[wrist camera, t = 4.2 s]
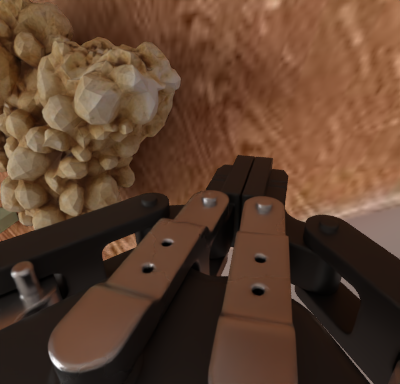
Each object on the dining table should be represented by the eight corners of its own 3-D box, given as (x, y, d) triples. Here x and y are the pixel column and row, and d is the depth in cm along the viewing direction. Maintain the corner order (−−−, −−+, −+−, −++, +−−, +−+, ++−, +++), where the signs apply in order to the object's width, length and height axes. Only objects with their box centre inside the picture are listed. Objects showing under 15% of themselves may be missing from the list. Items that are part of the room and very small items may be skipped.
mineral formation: (211, 60, 19) (143, 242, 26) (42, -24, 21) (23, 163, 29) (132, 58, 12) (69, 305, 19) (-102, -64, 15) (-78, 194, 22)
